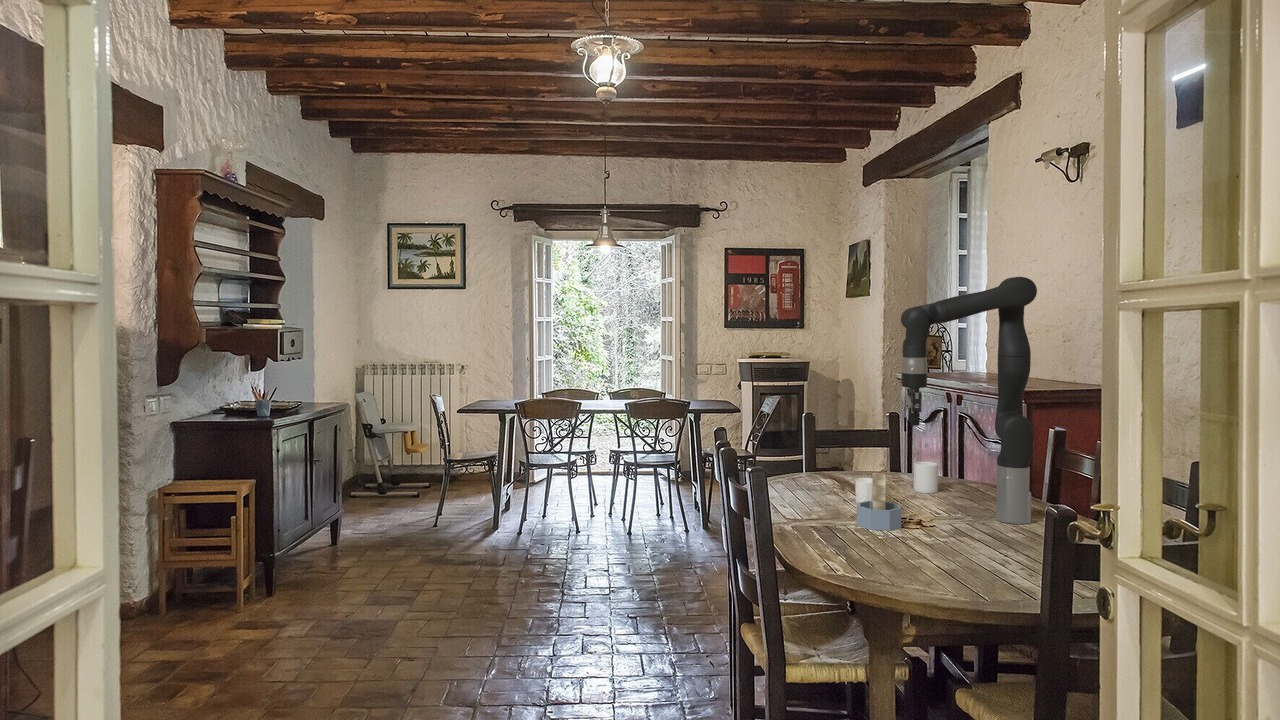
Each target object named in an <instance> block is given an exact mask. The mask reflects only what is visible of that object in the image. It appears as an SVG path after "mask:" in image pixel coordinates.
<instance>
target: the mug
mask: <svg viewBox="0 0 1280 720" xmlns="http://www.w3.org/2000/svg"><path fill="white" fill-rule="evenodd" d="M938 488H939V464H938V462H937V463H936V462H933V461H916V462H914V463H913V491H914V492H915V493H918V494H925V495H932V494H934V495H935V494H937V493H938V491H939V489H938Z"/></svg>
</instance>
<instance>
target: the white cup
mask: <svg viewBox="0 0 1280 720" xmlns="http://www.w3.org/2000/svg"><path fill="white" fill-rule="evenodd" d="M854 490H855V491H854V492H855V503H856V505H857V503H858V502H863V501H872V477H857V478H855V479H854Z"/></svg>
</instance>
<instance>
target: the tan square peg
mask: <svg viewBox="0 0 1280 720" xmlns="http://www.w3.org/2000/svg"><path fill="white" fill-rule="evenodd" d="M871 474H872V477H871V478H872V509H874V510H885V501H886V488H887V487H886V486H887V485H886V483H887V482H886V478H887V477H886V474H885V473H882V472H872V473H871Z"/></svg>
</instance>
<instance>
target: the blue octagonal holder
mask: <svg viewBox="0 0 1280 720" xmlns="http://www.w3.org/2000/svg"><path fill="white" fill-rule="evenodd" d="M856 524H857V527H860V528H863V529H867V530H871V531H883V532H884V531H888V532H891V531H896V530H900V529H902V507H901V505H900V504H898V503H896V502H895V503H894V502H891V501H886V500H885V510H874V509H872V501H863V502H858V503H857V504H856Z"/></svg>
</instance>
